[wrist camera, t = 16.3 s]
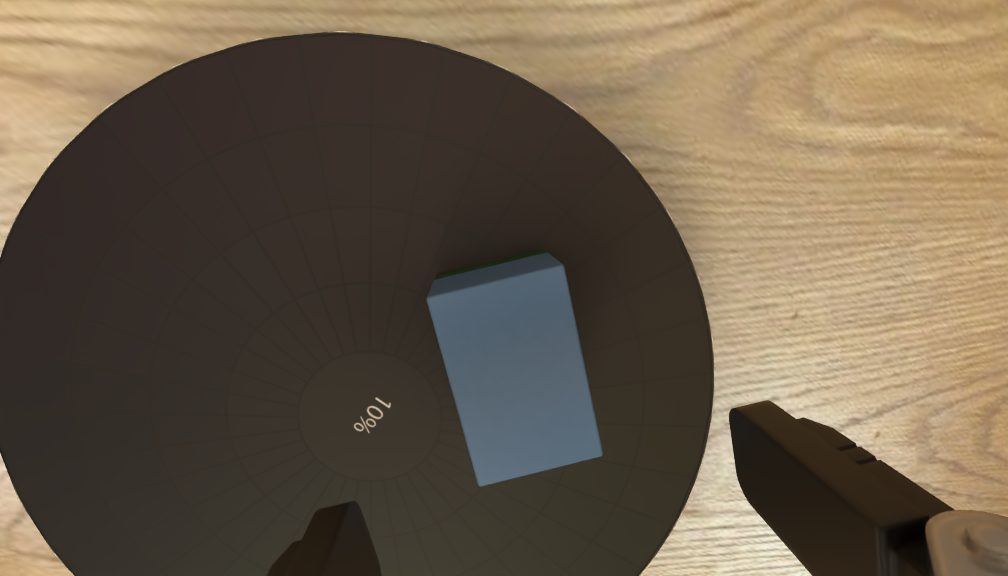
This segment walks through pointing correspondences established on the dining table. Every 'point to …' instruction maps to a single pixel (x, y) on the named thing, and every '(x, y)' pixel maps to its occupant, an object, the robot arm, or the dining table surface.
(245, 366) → the disc
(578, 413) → the sponge
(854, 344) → the dining table surface
